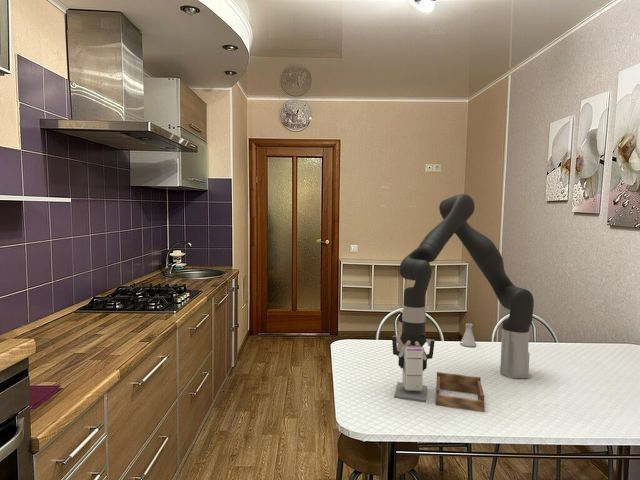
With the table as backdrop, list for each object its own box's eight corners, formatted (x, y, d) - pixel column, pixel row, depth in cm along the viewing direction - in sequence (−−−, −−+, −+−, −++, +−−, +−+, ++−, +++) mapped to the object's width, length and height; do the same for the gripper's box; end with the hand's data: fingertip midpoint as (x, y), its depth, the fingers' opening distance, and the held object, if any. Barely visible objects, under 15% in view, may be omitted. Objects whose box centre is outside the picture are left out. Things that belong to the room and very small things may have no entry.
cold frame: (479, 393, 135) (480, 377, 135) (484, 411, 122) (484, 394, 122) (436, 387, 139) (436, 371, 139) (435, 404, 126) (436, 387, 126)
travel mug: (411, 354, 174) (413, 313, 173) (394, 351, 178) (395, 310, 177) (418, 350, 180) (419, 310, 180) (401, 346, 185) (402, 307, 184)
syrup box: (422, 391, 132) (424, 347, 131) (404, 390, 132) (406, 346, 131) (418, 383, 138) (420, 341, 137) (401, 383, 138) (402, 341, 137)
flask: (476, 344, 192) (477, 323, 192) (476, 348, 185) (477, 326, 185) (460, 342, 194) (461, 321, 194) (459, 346, 188) (460, 325, 187)
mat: (427, 387, 139) (427, 385, 139) (426, 402, 128) (426, 400, 128) (397, 383, 142) (397, 381, 142) (394, 397, 130) (394, 395, 130)
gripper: (436, 318, 135) (434, 367, 136) (393, 315, 139) (391, 362, 140) (436, 323, 128) (434, 375, 129) (390, 319, 132) (389, 370, 133)
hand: (412, 368), depth 134 cm, fingers closed on syrup box, 6 cm apart
